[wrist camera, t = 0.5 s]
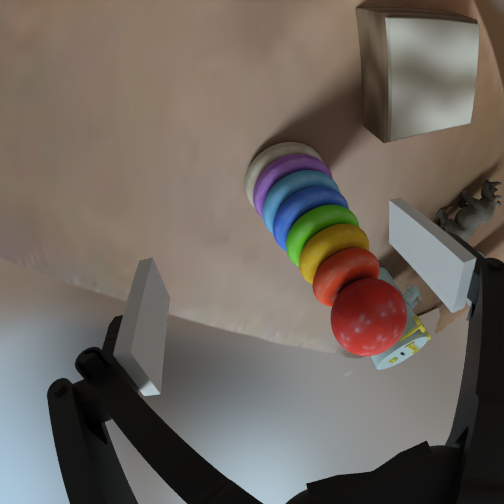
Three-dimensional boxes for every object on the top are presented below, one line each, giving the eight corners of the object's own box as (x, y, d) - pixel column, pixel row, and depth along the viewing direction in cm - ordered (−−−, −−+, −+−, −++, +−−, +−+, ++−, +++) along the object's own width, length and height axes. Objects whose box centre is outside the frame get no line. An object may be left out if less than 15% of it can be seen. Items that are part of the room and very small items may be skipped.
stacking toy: (242, 214, 32) (311, 392, 19) (241, 143, 26) (339, 336, 14) (315, 202, 33) (406, 356, 21) (324, 135, 28) (457, 293, 15)
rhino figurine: (489, 179, 39) (513, 203, 35) (433, 230, 44) (454, 257, 40) (488, 164, 36) (514, 188, 32) (428, 217, 41) (451, 246, 37)
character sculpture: (412, 281, 54) (448, 339, 45) (363, 315, 57) (393, 375, 48) (382, 230, 40) (436, 310, 31) (315, 279, 44) (355, 363, 35)
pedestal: (355, 7, 19) (384, 13, 16) (451, 11, 19) (481, 21, 16) (363, 126, 28) (386, 145, 25) (447, 109, 28) (471, 126, 25)
